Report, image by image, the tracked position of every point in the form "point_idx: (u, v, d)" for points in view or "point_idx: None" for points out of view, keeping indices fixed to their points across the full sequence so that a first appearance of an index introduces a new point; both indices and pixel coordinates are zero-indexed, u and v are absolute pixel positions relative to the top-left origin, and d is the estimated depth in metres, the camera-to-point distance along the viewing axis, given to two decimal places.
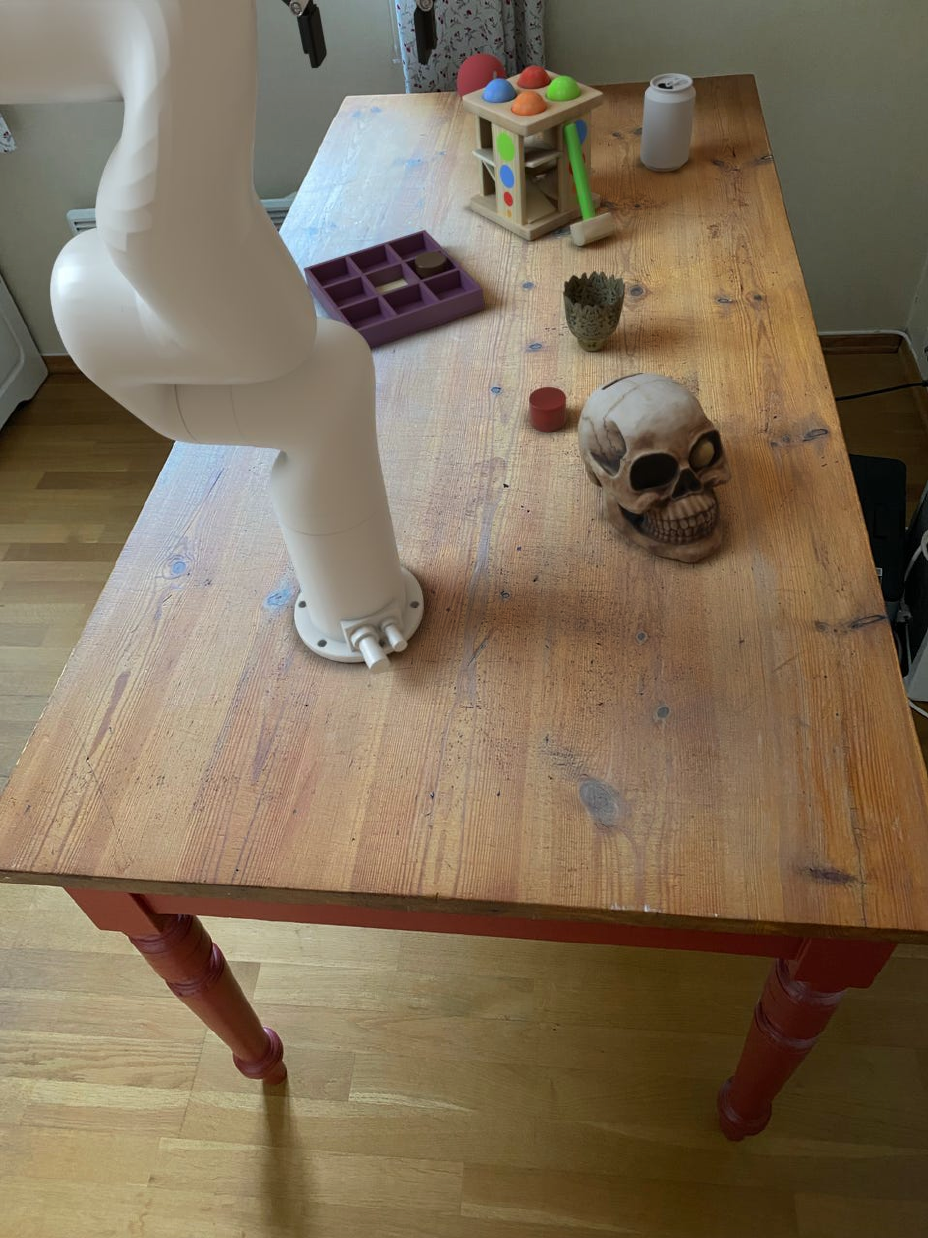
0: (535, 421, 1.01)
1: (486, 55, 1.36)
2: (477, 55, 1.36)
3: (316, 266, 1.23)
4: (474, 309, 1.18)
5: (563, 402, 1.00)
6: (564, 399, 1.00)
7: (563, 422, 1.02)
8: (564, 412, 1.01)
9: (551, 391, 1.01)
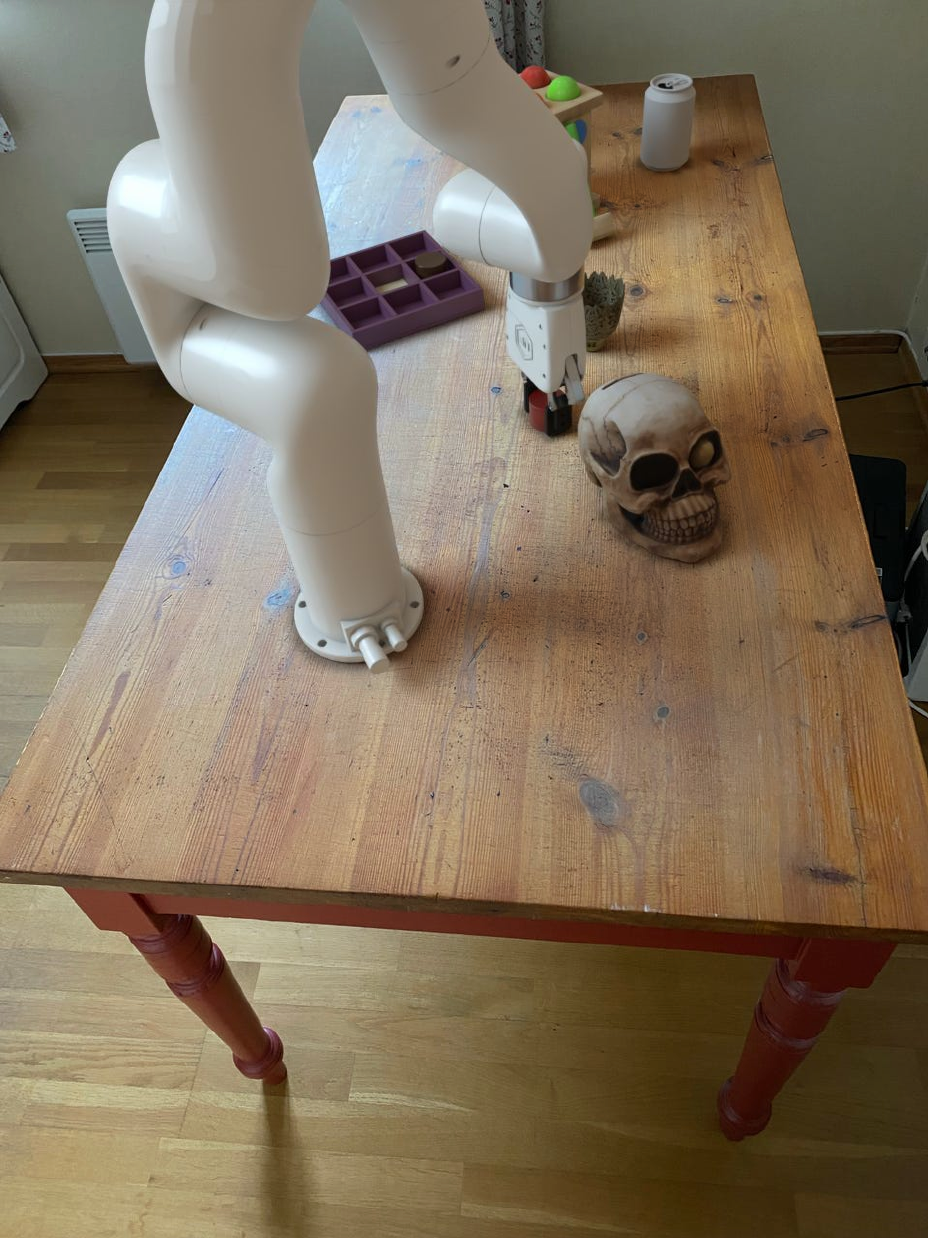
0: (535, 421, 1.01)
1: None
2: None
3: None
4: (474, 309, 1.18)
5: None
6: None
7: None
8: None
9: None
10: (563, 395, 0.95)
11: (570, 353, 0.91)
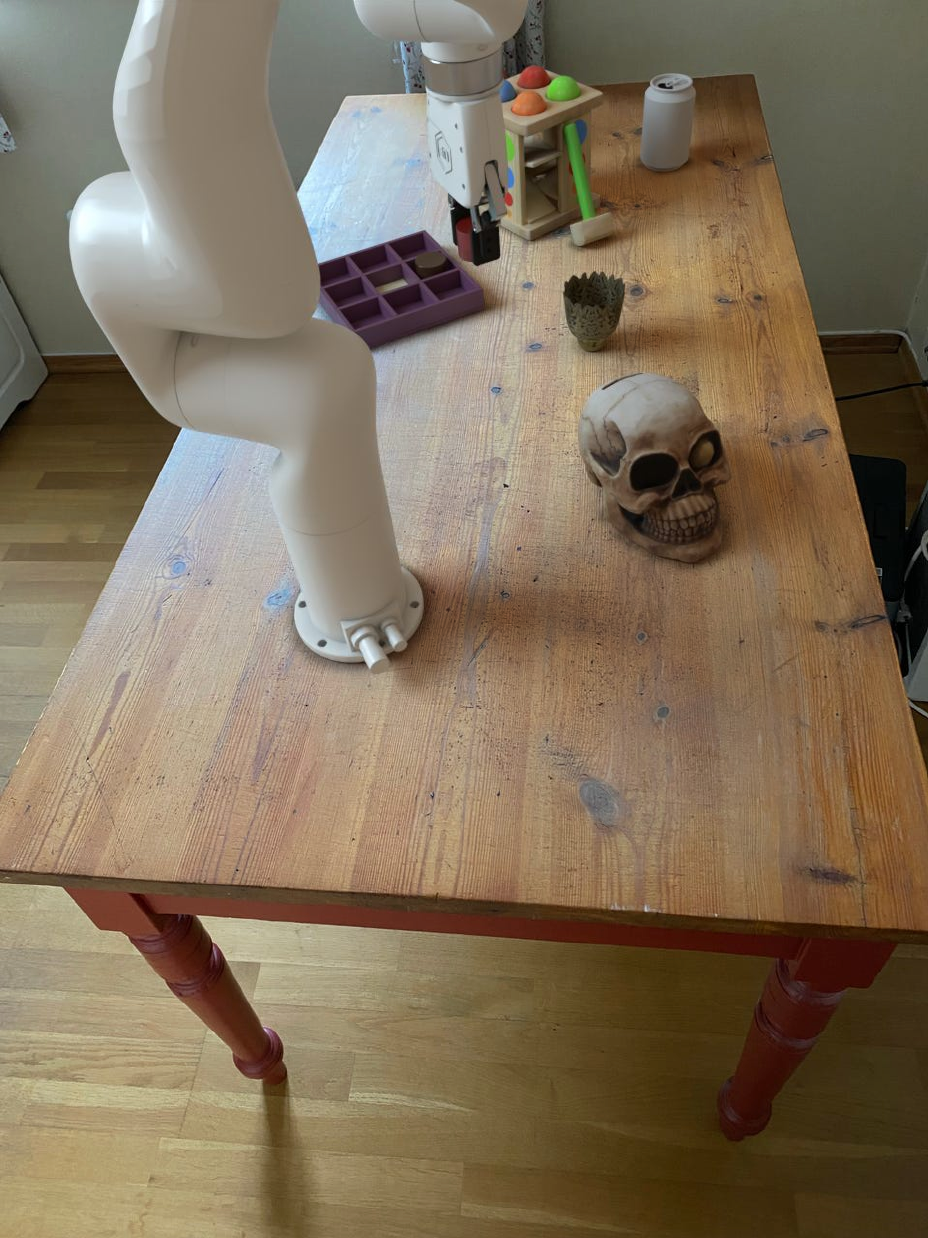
0: (462, 250, 0.97)
1: None
2: None
3: None
4: (474, 309, 1.18)
5: None
6: None
7: None
8: None
9: None
10: (486, 211, 0.90)
11: (489, 158, 0.86)
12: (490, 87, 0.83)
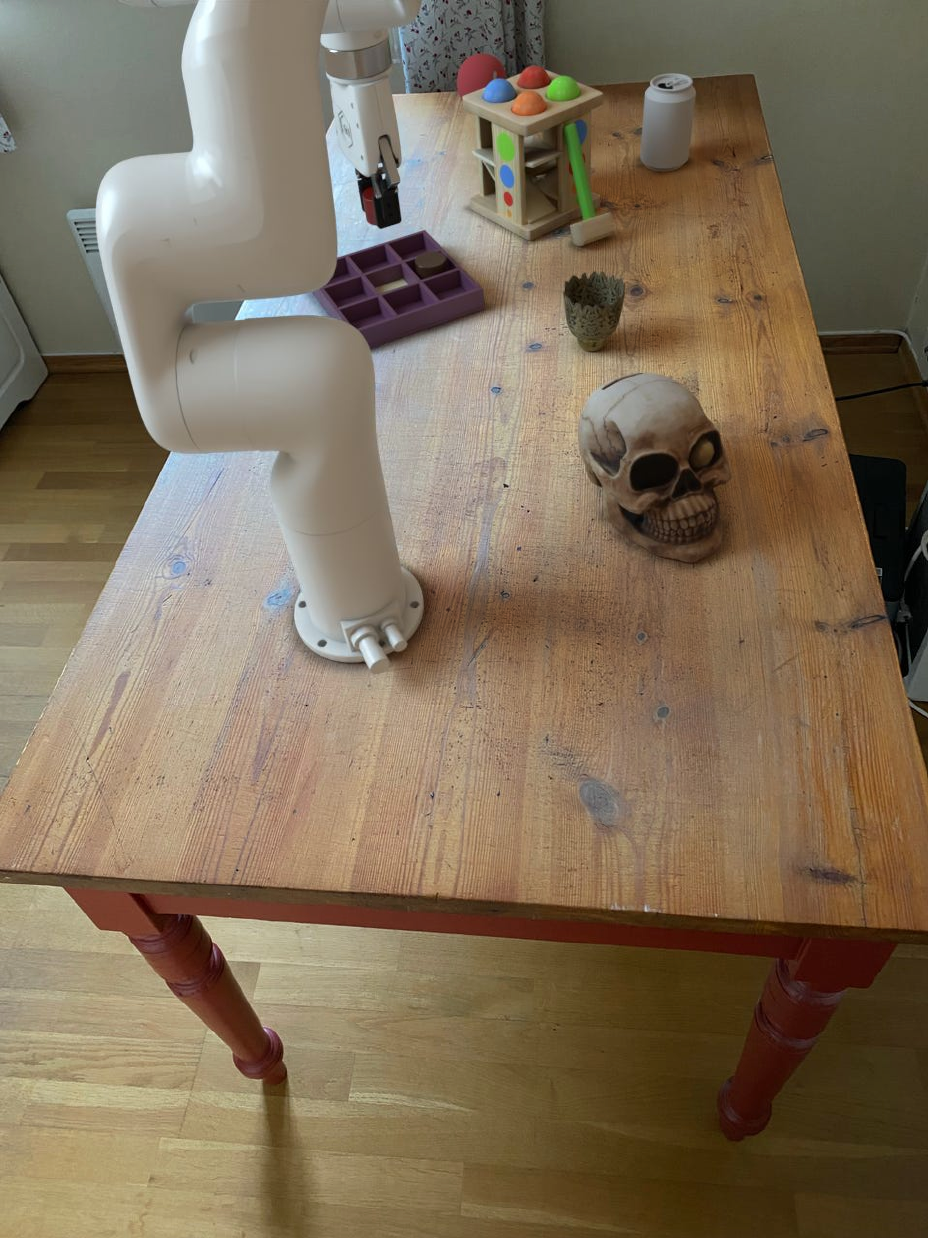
0: (368, 215, 1.12)
1: (486, 55, 1.36)
2: (477, 55, 1.36)
3: None
4: (474, 309, 1.18)
5: None
6: None
7: None
8: None
9: None
10: (383, 179, 1.05)
11: (382, 133, 1.01)
12: (379, 72, 0.98)
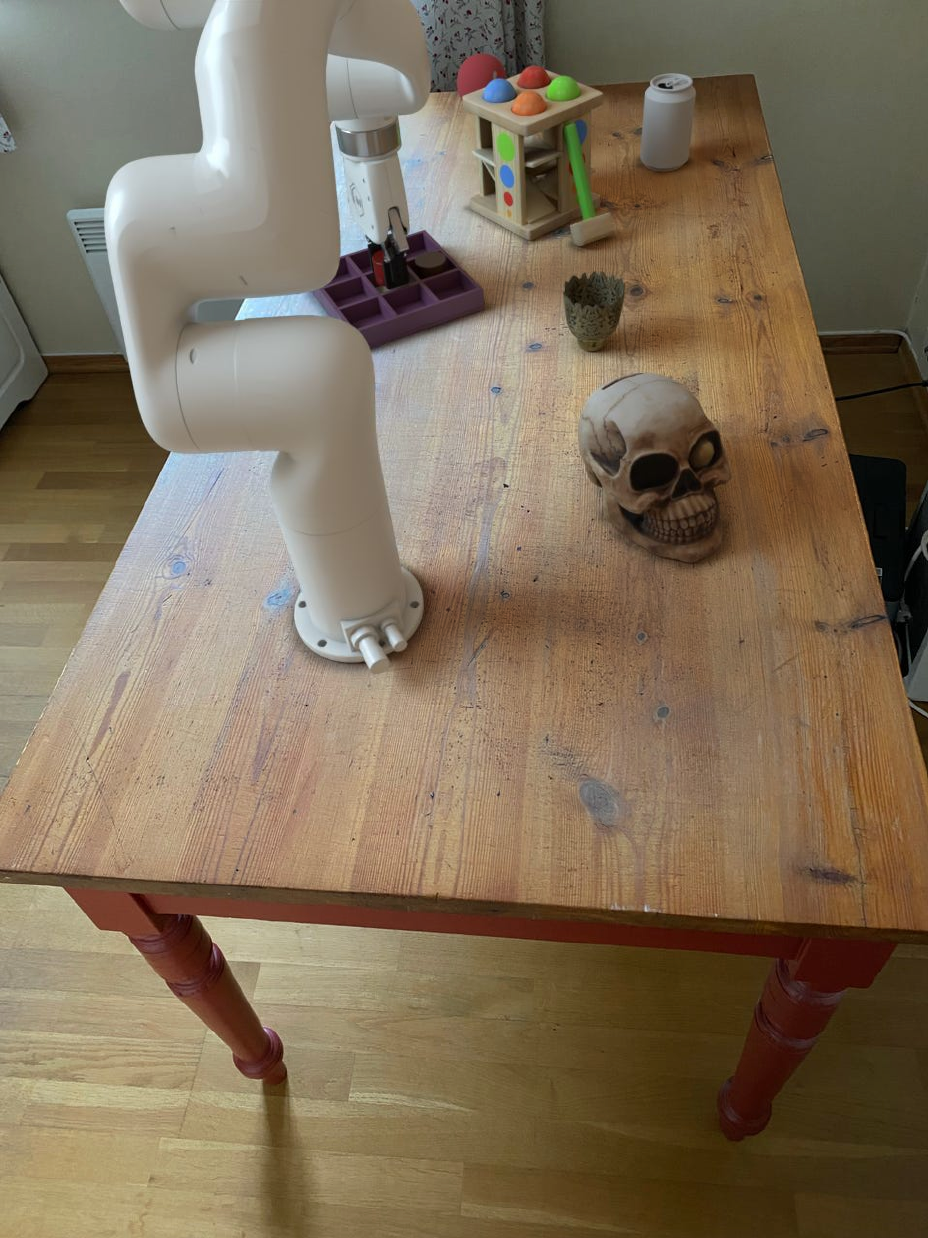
0: (378, 276, 1.18)
1: (486, 55, 1.36)
2: (477, 55, 1.36)
3: None
4: (474, 309, 1.18)
5: None
6: None
7: None
8: None
9: None
10: (392, 246, 1.12)
11: (392, 205, 1.08)
12: (389, 150, 1.04)
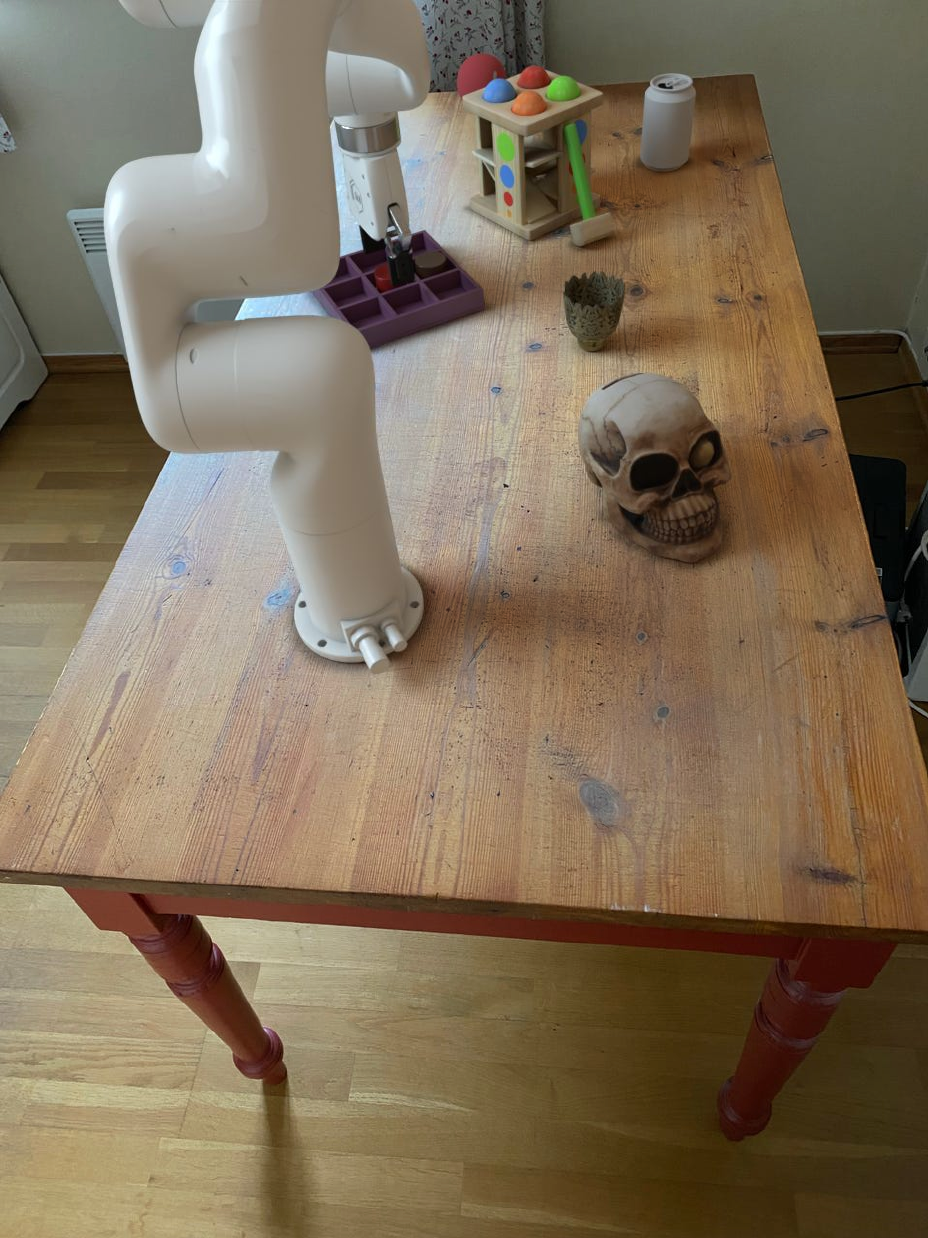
0: (380, 291, 1.20)
1: (486, 55, 1.36)
2: (477, 55, 1.36)
3: None
4: (474, 309, 1.18)
5: None
6: None
7: None
8: None
9: None
10: (398, 242, 1.09)
11: (391, 201, 1.07)
12: (389, 146, 1.04)
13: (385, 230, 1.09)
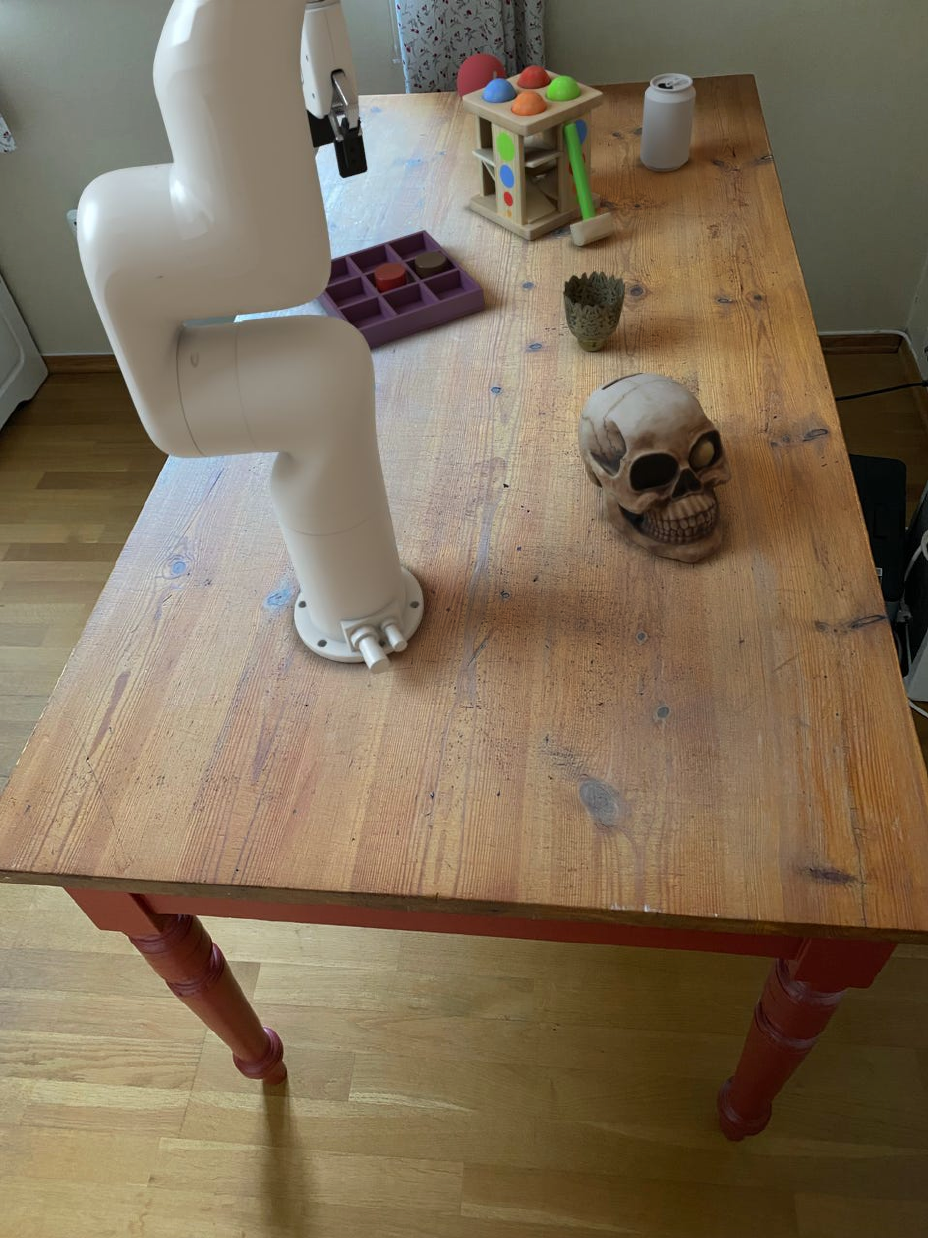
0: (380, 291, 1.20)
1: (486, 55, 1.36)
2: (477, 55, 1.36)
3: None
4: (474, 309, 1.18)
5: (402, 273, 1.18)
6: (403, 271, 1.19)
7: None
8: (404, 283, 1.19)
9: (394, 266, 1.20)
10: (344, 117, 0.92)
11: (335, 67, 0.91)
12: None
13: (329, 104, 0.93)
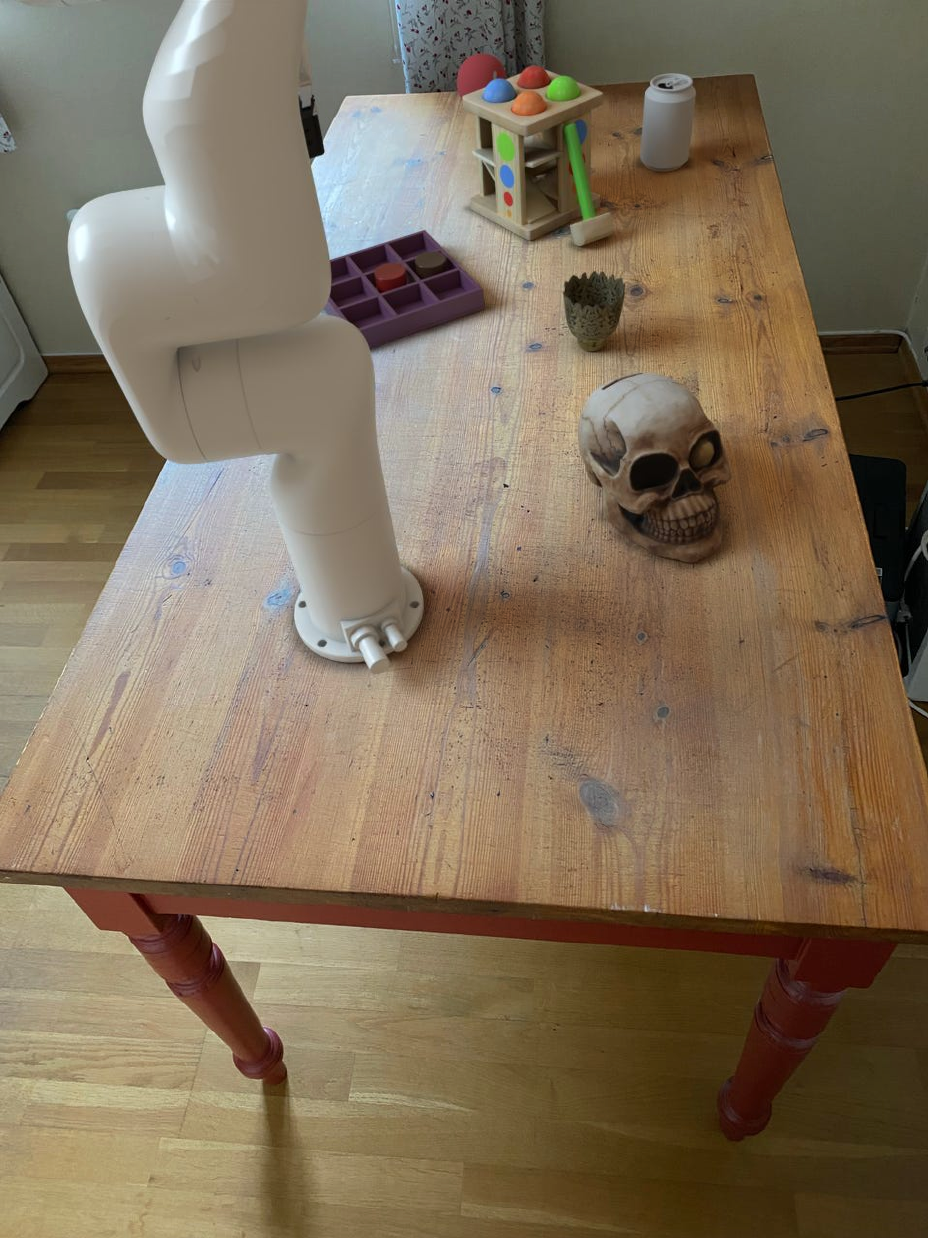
0: (380, 291, 1.20)
1: (486, 55, 1.36)
2: (477, 55, 1.36)
3: None
4: (474, 309, 1.18)
5: (402, 273, 1.18)
6: (403, 271, 1.19)
7: None
8: (404, 283, 1.19)
9: (394, 266, 1.20)
10: None
11: None
12: None
13: None
